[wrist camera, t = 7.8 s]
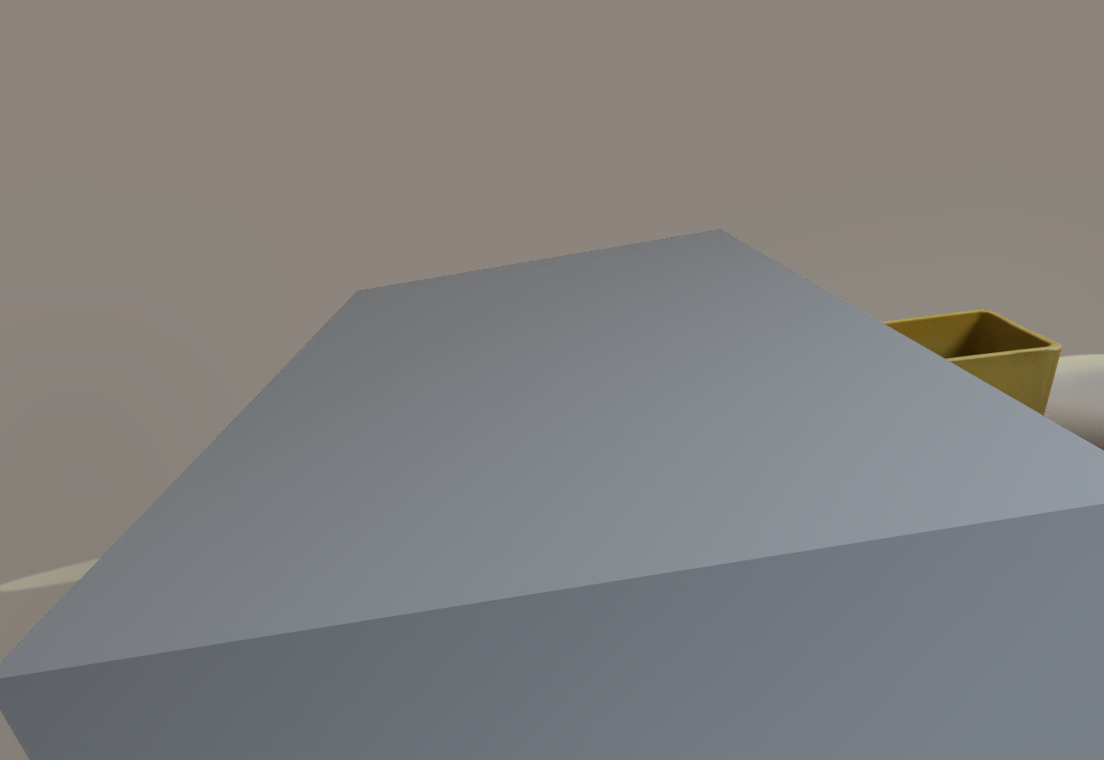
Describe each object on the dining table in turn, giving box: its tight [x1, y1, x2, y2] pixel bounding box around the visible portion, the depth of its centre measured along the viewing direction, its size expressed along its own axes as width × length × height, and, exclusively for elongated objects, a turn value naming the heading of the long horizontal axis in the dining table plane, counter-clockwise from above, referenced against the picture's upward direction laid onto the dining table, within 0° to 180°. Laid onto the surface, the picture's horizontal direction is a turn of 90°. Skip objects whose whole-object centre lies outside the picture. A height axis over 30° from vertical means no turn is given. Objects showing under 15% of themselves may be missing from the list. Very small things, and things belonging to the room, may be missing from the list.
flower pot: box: [882, 309, 1062, 415], centre depth 46 cm, size 9×9×9 cm
